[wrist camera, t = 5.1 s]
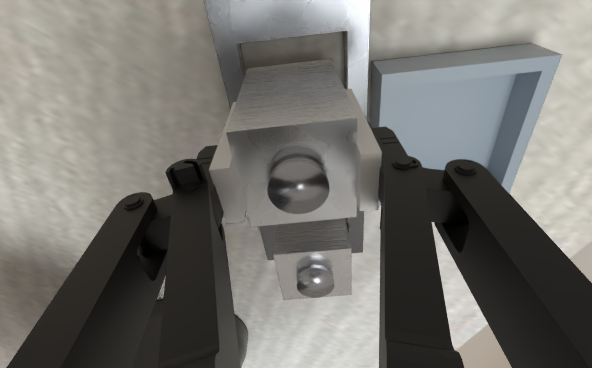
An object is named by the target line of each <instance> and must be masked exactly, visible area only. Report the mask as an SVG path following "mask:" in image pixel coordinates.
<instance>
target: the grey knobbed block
mask: <svg viewBox="0 0 592 368" xmlns="http://www.w3.org/2000/svg"><path fill="white" fill-rule="evenodd" d="M273 256H274V260H275V264H276V269H277V273H278V278H279V282H280V287H281V291H282V295H283V300H289V299H302V298H317V297H328V296H341V295H351V244H350V239H349V235H348V230H347V225H346V220H345V218H340V219H329V220H319V221H308V222H298V223H288V224H277V225H275V234H274V253H273Z"/></svg>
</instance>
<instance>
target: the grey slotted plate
mask: <svg viewBox="0 0 592 368" xmlns="http://www.w3.org/2000/svg"><path fill="white" fill-rule="evenodd" d="M204 3H205V7H206V11H207V15H208V19H209V23H210V27H211V31H212V35H213V39H214V43H215V48H216V52H217V56H218V60H219V64H220V68H221V72H222V76H223V80H224V84H225V88H226V92H227V96H228V100H229V105H230V109H231V107H232V104H233V102H236V101H237V98H238V95H239V92H240V89H241V86H242V83H243V80H244V77H245V74H246V72H245V67H244V62H243V57H242V52H241V47H240V43H248V42H257V41H265V40H273V39H282V38H290V37H298V36H307V35H315V34H324V33H332V32H340V31H345V89H352V91H353V93H354V95H355V97H356V99H357V101H358V103H359V105H360V107H361V110H362V112H363V114H364V116H365V118H366V120H367V91H368V57H369V24H370V0H204ZM363 224H364V211H360V210H359V207H358V203H357V217H350V218H347V223H346V225H347V230H348V235H349V239H350V244H351V253H360V252H363ZM259 227H260V231H261V235H262V239H263V243H264V247H265V251H266V255H267V259H268V260H274V256H273V253H274V234H275V225H267V226H259Z"/></svg>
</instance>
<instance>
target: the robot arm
mask: <svg viewBox="0 0 592 368" xmlns="http://www.w3.org/2000/svg"><path fill="white" fill-rule="evenodd" d="M345 91H346V93H347V95H348V97H349V100H350V102H351V104H352V107H353V109H354V111H355V113H356V116H357V143H356V200H357V203H358V207H359V210H360V211H367V210H378V206H379V201H380V203H381V206H382V207H381V221H380V229H381V246H380V329H379V368H464V365H463V362H462V358H461V356H460V354H459V352H457V351H455V350H454V348H453V346H452V341H451V336H450V330H449V324H448V318H447V312H446V306H445V300H444V294H443V288H442V282H441V276H440V270H439V265H438V259H437V253H436V247H435V241H434V235H433V229H432V223H431V222H434V223H435V226H436V228H437V230H438V232H439V233H440V235H441V237H442V239H443V241H444V243H445V245H446V246H447V248H448V250H449V252H450V254H451V256H452V257H453V259H454V261H455V263H456V265H457V267H458V269H459V270H460V272H461V274H462V276H463V278H464V280H465V282H466V283H467V285H468V287H469V289H470V291H471V293H472V294H473V296H474V298H475V300H476V302H477V304H478V306H479V307H480V309H481V311H482V313H483V315H484V317H485V318H486V320H487V322H488V324H489V326H490V328H491V330H492V331H493V333H494V335H495V337H496V339H497V341H498V343H499V344H500V346H501V348H502V350H503V352H504V354H505V355H506V357H507V359H508V361H509V363H510V365H511V367H512V368H592V283H591V282H590V281H589V280H588V279H587V278H586V276H585V275H584V274H583V273H582V272H581V271H580V270H579V269H578V268H577V267H576V266H575V265H574V264H573V262H572V261H571V260H570V259H569V258H568V257H567V256H566V255H565V254H564V253H563V252H562V250H561V249H560V248H559V247H558V246H557V245H556V244H555V243H554V242H553V241H552V240H551V238H550V237H549V236H548V235H547V234H546V233H545V232H544V231H543V230H542V229H541V228H540V227H539V225H538V224H537V223H536V222H535V221H534V220H533V219H532V218H531V217H530V216H529V215H528V214H527V212H526V211H525V210H524V209H523V208H522V207H521V206H520V205H519V204H518V203H517V202H516V201H515V199H514V198H513V197H512V196H511V195H510V194H509V193H508V192H507V191H506V190H505V189H504V187H503V186H502V185H501V184H500V183H499V182H498V181H497V180H496V179H495V178H494V177H493V176H492V174H491V173H490V172H489V171H488V170H487V169H486V168H485V167H484V166H483V165H481V164H480V163H477V162H475V161H472V160H468V159H456V160H452V161H450V162H448V163H447V164H446V166H445V170H438V169H429V168H424V167H422V164H421V163H420V161H419V160H417V159H416V158H414V157H411V156H408V155H407V153H406V151H405V150H404V148H403V146H402V145H401V143H400V141H399V140H398V138H397V136H396V135H395V133H394V131H392V130H391V129H389V128H387V127H386V126H385V127H375V128H370V126H369V124H368V122H367V120H366V118H365V116H364V114H363V112H362V110H361V107H360V105H359V103H358V101H357V99H356V97H355V95H354V93H353V91H352V89H345ZM235 104H236V102H233V104H232V107H231V110H230V113H229V116H228V118H227V121H226V124H225V127H224V129H223V132H222V135H221V138H220V140H219V143H218V145H215V146H206V147H205V148H204V149H203V150H201V151H200V152H199V154H198V156H197V159H185V160H181V161H178V162H176V163H174V164H172V165H171V166H170V167H169V168H167V170H166V172H165V173H166V175H167V177H168V180H169V182H170V184H171V187H172V189H173V194H172V195H169V196H167V197H163V198H160V199H157V200H153V198H152V196H151V194H149V193H145V192H140V193H135V194H131V195H129V196H127V197H125V198H124V199H122V200H121V201H120V202H119V203H118V204H117V205H116V206H115V208H114V209H113V211H112V212H111V214H110V215H109V217H108V218H107V220H106V221H105V223H104V224H103V226H102V227H101V229H100V230H99V232H98V233H97V235H96V236H95V237H94V239H93V240H92V242H91V243H90V245H89V246H88V248H87V249H86V251H85V252H84V254H83V255H82V257H81V258H80V260H79V261H78V263H77V264H76V266H75V267H74V269H73V270H72V272H71V273H70V275H69V276H68V278H67V279H66V280H65V282H64V283H63V285H62V286H61V288H60V289H59V291H58V292H57V294H56V295H55V297H54V298H53V300H52V301H51V303H50V304H49V306H48V307H47V309H46V310H45V312H44V313H43V315H42V316H41V318H40V319H39V320H38V322H37V323H36V325H35V326H34V328H33V329H32V331H31V332H30V334H29V335H28V337H27V338H26V340H25V341H24V343H23V344H22V346H21V347H20V349H19V350H18V352H17V353H16V355H15V356H14V358H13V359H12V360H11V362H10V363H9V365H8V366H7V368H241V367H242V364H243V362H244V359H245V356H246V351H247V343H248V332H247V329H246V327H245V325H244V324H243V323H242V322H241V321H240V320H239V319H238V318H237V317H236V316H234V308H233V300H232V291H231V283H230V275H229V267H228V258H227V250H226V242H225V234H224V229H223V226H222V223H221V222H222V218H223V215H224V218H225V221H226V224H231V223H242V222H244V221H245V215H246V206H245V202H244V198H243V194H242V190H241V187H240V183H239V179H238V175H237V172H236V168H235V164H234V160H233V156H232V154H231V150H230V146H229V142H228V139H227V135H226V130H227V127H228V124H229V121H230V119H231V116H232V113H233V110H234V107H235ZM165 275H166V278H165ZM164 278H165V290H164V300H160V301H156V300H157V297H158V294H159V291H160V289H161V286H162V283H163V281H164Z"/></svg>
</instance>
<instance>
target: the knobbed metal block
mask: <svg viewBox="0 0 592 368" xmlns="http://www.w3.org/2000/svg"><path fill="white" fill-rule="evenodd" d="M226 135H227V139H228V142H229V146H230V150H231V154H232V156H233V160H234V164H235V168H236V172H237V175H238V179H239V183H240V187H241V190H242V194H243V198H244V202H245V206H246V210H247V214H248V218H249V222H250V226H251V227H256V226H267V225H277V224H288V223H298V222H308V221H319V220H329V219H340V218H350V217H357V200H356V143H357V116H356V113H355V111H354V109H353V107H352V104H351V102H350V100H349V97H348V95H347V93H346V91H345V88H344V86H343V84H342V81H341V79H340V77H339V75H338V72H337V70H336V68H335V66H334V63H333V61H332V59H324V60H315V61H307V62H298V63H290V64H281V65H273V66H264V67H256V68H248V69H247V72H246V74H245V77H244V80H243V83H242V86H241V89H240V92H239V95H238V98H237V101H236V104H235V107H234V110H233V113H232V116H231V119H230V121H229V124H228V127H227V130H226Z"/></svg>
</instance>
